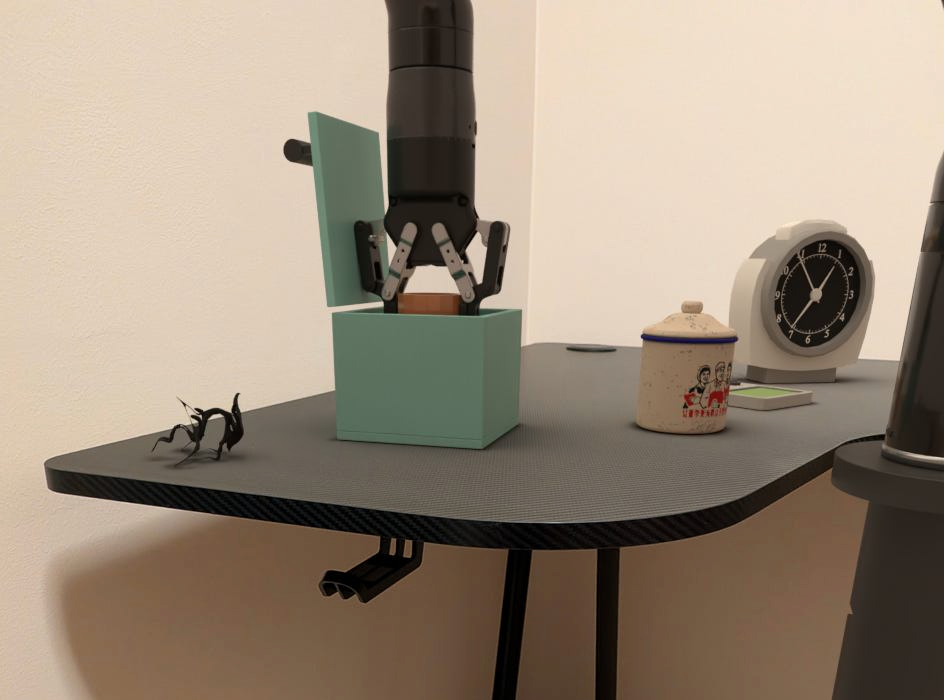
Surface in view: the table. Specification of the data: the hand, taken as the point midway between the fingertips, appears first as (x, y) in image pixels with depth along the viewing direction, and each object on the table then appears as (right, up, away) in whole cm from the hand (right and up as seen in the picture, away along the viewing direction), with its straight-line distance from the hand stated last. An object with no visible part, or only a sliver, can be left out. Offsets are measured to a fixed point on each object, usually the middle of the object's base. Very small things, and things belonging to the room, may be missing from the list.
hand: (431, 344), depth 83 cm
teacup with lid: (+25, -6, +8) cm, 27 cm away
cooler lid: (-6, +11, -2) cm, 13 cm away
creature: (-19, -12, -9) cm, 24 cm away
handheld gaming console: (+35, +2, +25) cm, 43 cm away
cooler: (0, -7, +3) cm, 8 cm away
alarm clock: (+48, +9, +43) cm, 65 cm away
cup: (0, -3, +1) cm, 4 cm away
